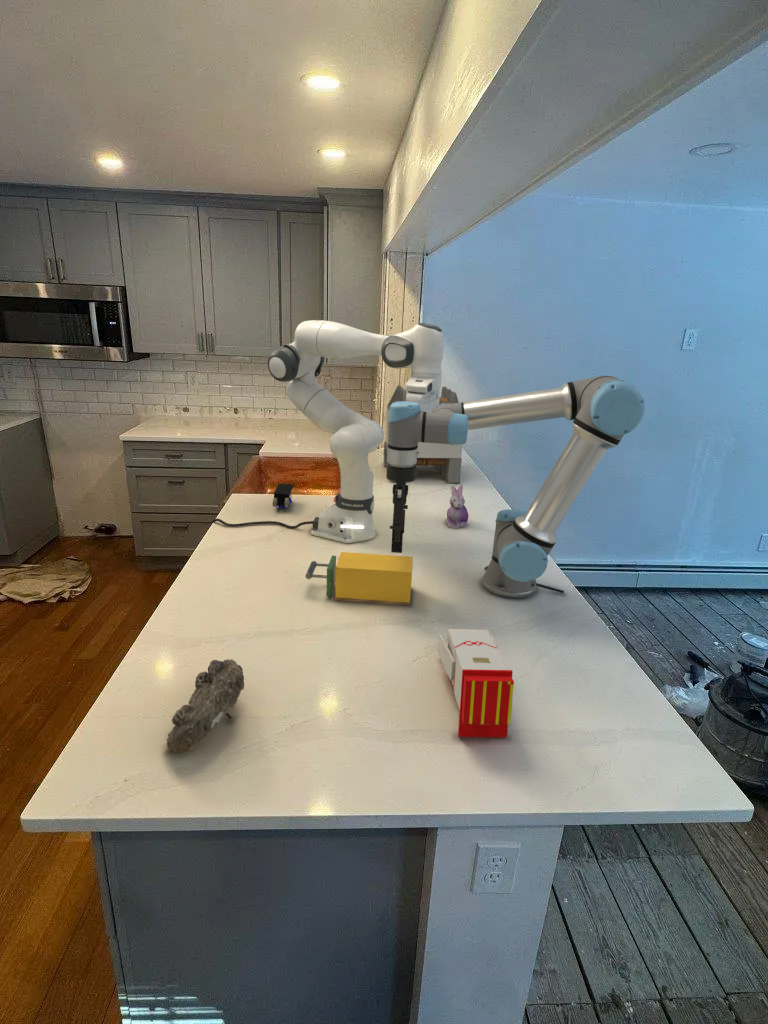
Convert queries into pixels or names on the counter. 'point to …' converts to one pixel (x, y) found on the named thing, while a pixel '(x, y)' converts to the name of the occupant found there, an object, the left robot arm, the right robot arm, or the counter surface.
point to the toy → (478, 682)
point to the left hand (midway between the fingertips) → (422, 430)
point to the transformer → (433, 453)
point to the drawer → (330, 575)
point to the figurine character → (282, 496)
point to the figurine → (457, 509)
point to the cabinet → (374, 578)
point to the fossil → (206, 705)
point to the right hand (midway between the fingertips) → (397, 541)
